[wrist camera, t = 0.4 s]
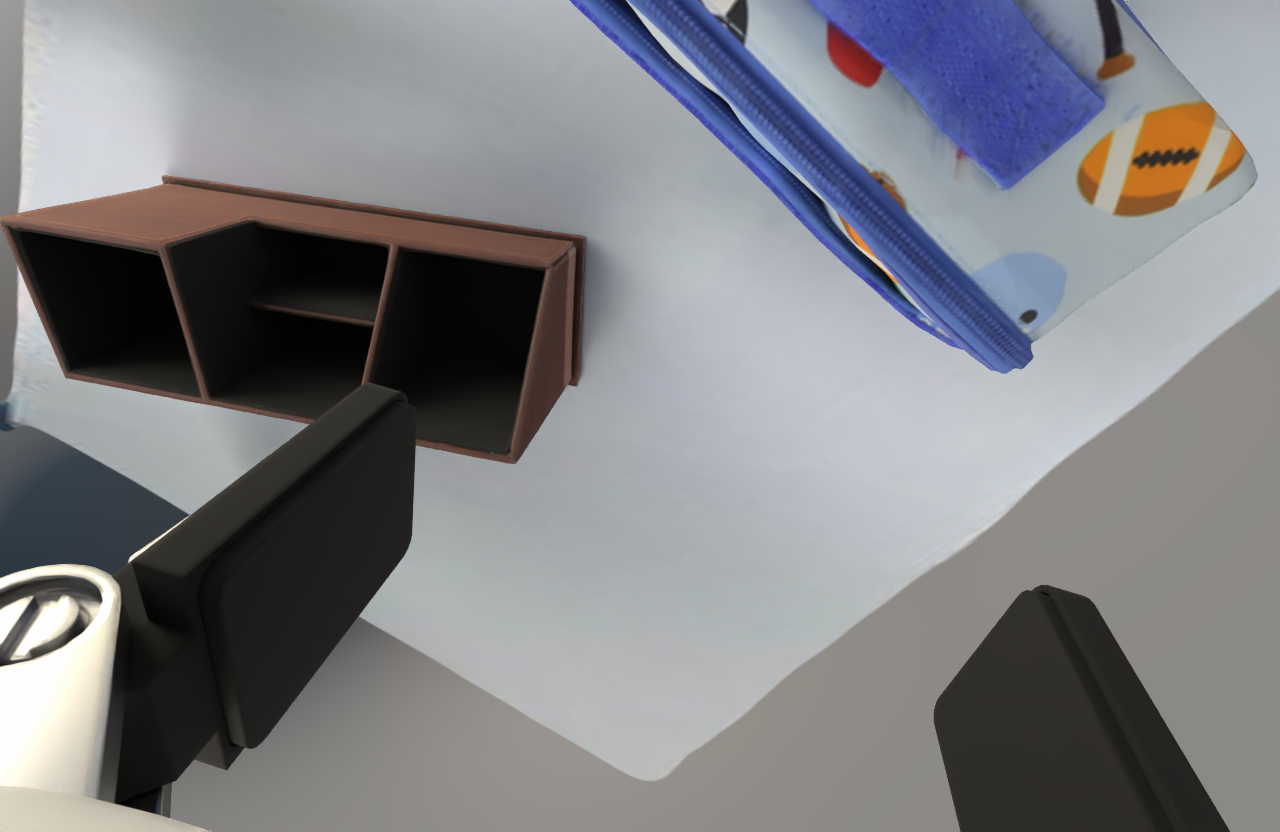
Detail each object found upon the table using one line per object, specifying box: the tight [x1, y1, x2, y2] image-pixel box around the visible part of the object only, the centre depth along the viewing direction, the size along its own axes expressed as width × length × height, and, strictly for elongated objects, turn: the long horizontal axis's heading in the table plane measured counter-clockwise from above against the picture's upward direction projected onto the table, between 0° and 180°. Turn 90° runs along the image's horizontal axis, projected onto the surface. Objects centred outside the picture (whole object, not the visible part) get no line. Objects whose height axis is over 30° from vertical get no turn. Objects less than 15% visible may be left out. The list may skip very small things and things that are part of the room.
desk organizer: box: [0, 175, 586, 464], centre depth 38 cm, size 10×29×11 cm, turn 84°
